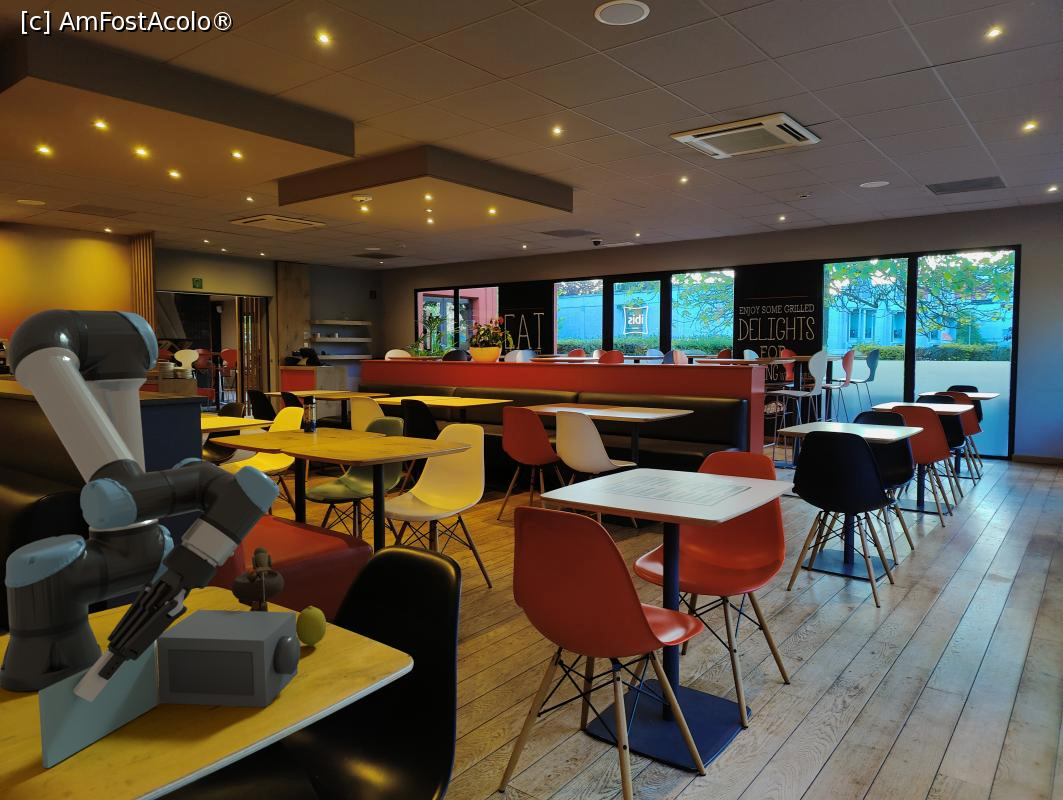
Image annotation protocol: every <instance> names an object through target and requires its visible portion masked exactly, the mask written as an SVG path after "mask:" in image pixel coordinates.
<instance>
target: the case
mask: <svg viewBox="0 0 1063 800" xmlns="http://www.w3.org/2000/svg"><path fill="white" fill-rule="evenodd" d="M296 623H297V612H292V611H290V612H289V611H287V612H286V611H268V612H262V611H250V610H225V609H224V610H223V609H222V610H220V609H217V610H216V609H197V610H195V611H194V612H192V613H191V614H190V615H188V616H186V617H185V618H183V619H182V620H181V621H179V622H177V623H176V624H174V625H172V627H171V626H170V627H169V628H167V629H166V630H165V631H164V632H163V633H162V634H161V635H160V636H159V637H158V638H157V639H156V644H157V665H158V686H159V704H177V705H197V706H198V705H203V706H222V707H224V706H225V707H227V706H228V707H248V708H249V707H250V708H267V707H268V706H269V705H270V704H271V703H272V701H274V699H276V697H277V696H278V695H279V694H280V693H281V692H282V691H283V690H284V689H285V687H286V686H287V685H288V684H289V683H291V681H292V680H293V679H294V678H295V677H296V676H297V675H298V671H299V669H298V668H299V667H298V665H299V662H300V659H301V641H300V640H299V638H298V636H297V632H296ZM294 676H295V677H294ZM293 677H294V678H293ZM292 678H293V679H292ZM282 689H283V690H282Z"/></svg>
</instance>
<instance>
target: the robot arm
mask: <svg viewBox="0 0 1063 800" xmlns="http://www.w3.org/2000/svg"><path fill="white" fill-rule="evenodd" d="M158 347H159V346H158V341H157V338H156V335H155V333H154V330H153V328H152V326H151V325H150V324H149V323H148V322H147V320H146V319H145V318H144V317H143V316H141V314H140V315H139V314H137V313H135V312H129V311H128V312H126V311H119V310H88V309H87V310H86V309H83V310H82V309H65V308H52V309H46V310H42V311H39V312H36V313H34V314H32V315H30V316H29V317H27V318H25V320H23V321H22V322H21V323H20V324H19V325H18V327H17V328H15V330H14V332H13V333H12V335H11V338H10V339H9V342H8V347H7V362H8V365H9V366H8V367H9V368H10V369H9V370H10V371H11V374H12V375H13V377H14V379H15V380H16V381H17V383H18V384H19V385H20V387H22V388H23V389H25V390H27V391H31V394H32V395H33V397H34V398H35V400H36V402H37V403H38V404H39V407H40V408H41V410H42V411H43V413H44V415H45V417H46V418H47V420H48V421H49V423H50V425H51V426H52V428H53V430H54V431H55V433H56V435H57V436H58V438H59V440H60V441H61V443H62V446H64V448H65V449H66V451H67V453H68V455H69V456H70V458H71V460H72V461H73V463H74V465H75V466H76V468H77V470H78V471H79V473H80V475H81V476H82V478H83V480H84V481H85V483H86V484H85V485H84V486H83V487H82V490H81V492H80V499H79V502H80V509H81V510H82V517H83V519H84V520H85V522H86V523H87V524H88V525H89V527H88V535H89V538H88V539H85V538H84V537H83V536H82V535H80V534H79V535H78V534H63V535H60V536H51V537H47V538H43V539H40V540H36V541H32V542H31V543H28V544H26V545H25V544H24V545H23V546H21V547H20V548H18V549H16V550H15V551H14V552H12V553H11V554H10V555H9V556H8V557H7V560H6V563H5V566H6V567H5V569H6V570H5V577H4V578H5V579H4V584H5V586H6V595H7V596H6V597H7V614H8V626H9V627H8V628H9V629H8V630H9V639H8V642H7V645H6V648H5V652H4V656H3V659H2V664H1V666H0V687H1V688H3V689H4V690H8V691H11V692H32V691H34V692H35V691H40V690H43V689H45V688H47V687H49V686H51V685H53V684H55V683H58V682H60V681H62V680H64V679H66V678H68V677H70V676H73V675H75V674H77V673H79V672H81V671H83V670H85V669H88V668H90V667H92V666H93V667H92V668H91V669H90V670H89V671H88V673H87V674H86V675H85V676H84V677H83V679H82V680H81V681H80V682H79V683H78V684H77V686H76V687H75V688H74V689H73V690H72V691H73V692H74V693H75V694H76V695H78V696H80V697H82V698H84V699H86V700H88V701H90V702H92V701H93V700H94V699H95V697H96V696H97V695H98V694H99V693H100V691H101V690H102V689H103V688H104V686H105V685H106V684H107V683H108V682H109V680H110V679H111V678H112V677H113V676H114V674H115V673H116V672H117V671H118V669H119V668H120V667H121V666H122V665H123V663H124V662H125V661H128V660H130V659H132V660H134V661H135V660H137V659H138V658H139V657H140V656H141V655H142V654H143V653H144V652H145V651H146V650H147V648H148V647H149V646H150V645H151V644H152V643H153V642H154V641H155V640H156V641H157V638H158V637H159V636H160V635H161V634H162V633H164V632H165V631H167V630H168V629H169V628H170V627H171V625H172V624H173V623H174V622H175V621H176V620H178V619H179V618H181V616H183V615H184V614H186V613H187V610H188V607H187V606H185V605H184V602H185V600H186V599H188V596H189V595H190V593H191V591H192V589H193V588H194V587H196V588H197V589H199V590H203V589H206V587H207V586H208V584H209V583H210V582H211V580H212V579H213V578H214V577H215V576H216V575H217V574H218V569H217V568H216V567H217V566H219V567H221V566H223V565H224V564H225V563H226V561H227V560H228V559H229V558H230V557H233V556H234V554H235V550H237V548H238V546H240V545H241V544H242V542H243V541H244V540H245V539H246V537H247V536H248V535H249V534H250V532H251V531H252V530H253V529H254V527H255V526H256V525H257V524H258V523H259V522H260V520H261V519H262V517H263V516H264V515H265V514H266V513H268V512H269V509H270V508H271V507H272V505H273V504H274V502H275V501H276V499H277V498H278V497H279V495H280V487H279V486H278V484H277V483H276V482H275V481H274V480H273V479H272V478H270V477H269V476H268V475H267V474H265V473H264V472H263V471H261V470H260V469H258V468H257V467H254V466H251V465H243V466H242V467H241V468H240V469H239V470H238V471H237V472H236V473H234V474H233V473H231V472H229V471H227V470H226V469H224V468H221V467H220V466H217V465H216V464H215V463H212V462H211V461H208V460H204V459H201V458H198V457H189V458H184V459H182V460H181V461H180V462H177V463H176V464H175V465H174V466H173V467H172V468H171V469H170V468H169V469H165V470H157V471H149V472H146V465H145V464H146V462H145V452H144V439H143V438H144V437H143V427H142V415H141V414H142V413H141V401H140V389H141V387H142V386H143V385H144V384H145V382H147V372H150V371H151V370H153V369H154V368H155V366H156V364H157V360H156V359H158V357H159V348H158ZM196 511H198V512H199V511H200V512H202V514H200V515H199V517H198V518H197V519H196V520H195V521H194V522H193V523H192V524H191V526H190V527H189V528H188V529H187V530H186V532H185V533H184V534H183V535H182V536H181V541H182V542H181V543H177V544H175V545H174V541H173V538H172V537H171V532H170V531H169V530H168V528H167V527H166V526H164V525H161V524H159V519H162V518H163V519H164V518H169V517H173V516H178V515H183V514H188V513H193V512H196ZM134 592H139V593H138V595H137V596H136V598H135V599H134V601H133V602H132V603H131V605H130V606H129V607H128V609H127V610H126V611H125V613H124V615H123V616H122V618H121V619H119V621H118V622H117V624H116V626H115V627H114V628H113V630H112V631H111V633H110V634H109V635H108V637H107V641H108V644H107V649H106V650H105V651H104V652H103V651H102V648H101V646H100V644H99V643H98V640H97V638H96V636H95V633H94V631H93V629H92V626H91V625H90V621H89V620H90V619H89V618H90V617H89V606H90V605H92V604H95V603H99V602H102V601H106V600H109V599H113V598H117V597H121V596H123V595H127V594H130V593H134Z"/></svg>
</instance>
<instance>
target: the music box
mask: <svg viewBox="0 0 1063 800" xmlns="http://www.w3.org/2000/svg"><path fill="white" fill-rule="evenodd" d="M252 553H253V556H252V557H251V565H252V569H250V570H249V572H244V573H242V574H239V575H237V576H236V578H234V580H233V581H232V584H231V593H232V595H233V596H234V597H235V598H236V599H237V600H238V601H237V602H238V603H239V604H242V605H245V606H246V607H247V606H248V607H250V609H249V611H262V612H269V609H268V607H269V606H268V602H267V601H268V600H269V599H272V598H275V597H277V596H278V595H279V594H280V593H281V592H282V590H283V589H284V585H285V582H284V581H285V580H284V578H283V576H282V574H281V573H280V572H279V571H276V570H272V567H273V562H272V557H271V555H270V554H268V550H267V549H266V548H265V547H263V546H258V547H256V548H255V550H254V551H253V552H252ZM256 569H257V570H256Z"/></svg>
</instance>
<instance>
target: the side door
mask: <svg viewBox="0 0 1063 800" xmlns="http://www.w3.org/2000/svg"><path fill="white" fill-rule="evenodd" d="M92 667H93V666H92ZM92 667H90V668H88V669H85V670H83V671H81V672H79V673H77V674H75V675H73V676H70V677H68V678H66V679H64V680H62V681H60V682H58V683H55V684H53V685H51V686H49V687H47V688H45V689H43V690H37V691H38V707H39V708H38V709H39V724H40V741H41V742H40V743H41V756H42V759H41V761H42V767H43V768H46V769H50V768H51V767H54V765H56V764H58V763H60V762H62V761H63V760H65V759H67V758H68V757H70V756H72V755H74V754H76V753H78V752H79V751H81V750H82V749H84V748H86V747H87V746H90V745H91V744H93V743H95V742H96V741H98V740H100V739H101V738H103V737H105V736H107V735H108V734H110V733H112V732H113V731H115V730H117V729H119V728H120V727H122V726H124V725H126V724H127V723H129V722H131V721H133V720H134V719H136V718H138V717H139V716H141V715H143V714H145V713H147V712H148V711H150V710H152V709H153V708H155V707H156V706H158V705H160V698H159V677H158V656H157V639H156V640H155V641H154V642H153V643H152V644H151V645H150V646H149V647H148V648H147V650H146V651H145V652H144V653H143V654H142V655H141V656H140V657H139V658H138V659H137V660H135V661H134V660H132V659H130V660H128V661H125V662H124V663H123V665H122V666H121V667H120V668H119V669H118V671H117V672H116V673H115V674H114V676H113V677H112V678H111V679H110V680H109V682H108V683H107V684H106V685H105V686H104V688H103V689H102V690H101V691H100V693H99V694H98V695H97V696H96V697H95V699H94V700H93V701H92V702H90V701H88V700H86V699H84V698H82V697H80V696H78V695H76V694H75V693H74V692H73V691H72V690H73V689H74V688H75V687H76V686H77V684H78V683H79V682H80V681H81V680H82V679H83V677H84V676H85V675H86V674H87V673H88V671H89V670H90V669H91V668H92Z"/></svg>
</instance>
